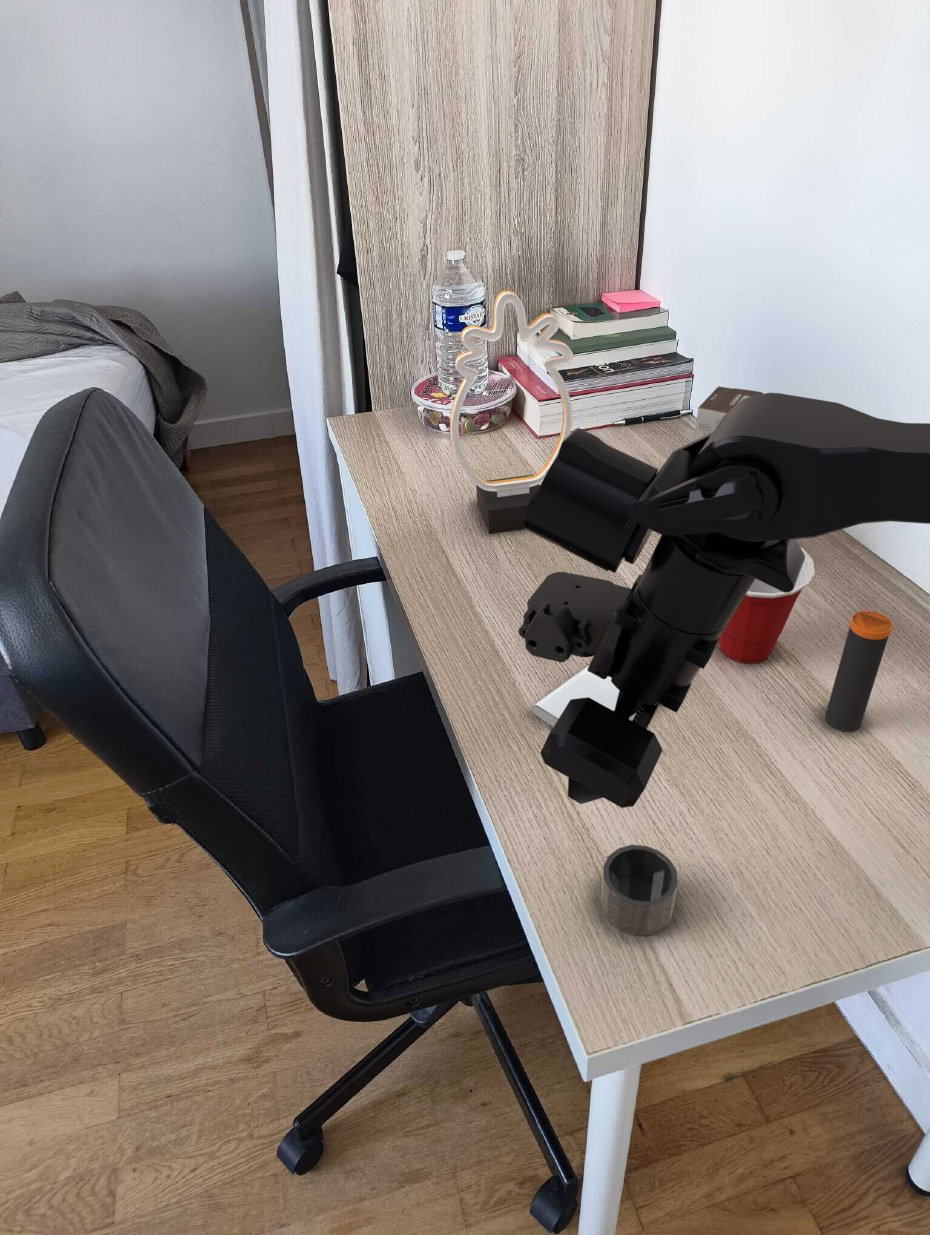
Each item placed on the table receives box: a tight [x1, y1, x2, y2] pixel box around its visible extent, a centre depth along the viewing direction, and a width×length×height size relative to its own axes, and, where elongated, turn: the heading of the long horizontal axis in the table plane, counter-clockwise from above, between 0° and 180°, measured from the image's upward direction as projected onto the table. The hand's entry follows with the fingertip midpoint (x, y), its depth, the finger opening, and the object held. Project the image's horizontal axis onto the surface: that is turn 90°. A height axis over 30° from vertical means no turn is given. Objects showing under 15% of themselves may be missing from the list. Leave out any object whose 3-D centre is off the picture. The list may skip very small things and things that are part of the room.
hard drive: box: [533, 665, 636, 728], centre depth 89 cm, size 2×8×12 cm
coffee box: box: [693, 386, 764, 441], centre depth 117 cm, size 9×6×16 cm
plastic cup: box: [717, 547, 816, 664], centre depth 92 cm, size 11×11×12 cm
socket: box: [600, 844, 679, 937], centre depth 68 cm, size 6×6×4 cm
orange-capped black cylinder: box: [824, 610, 893, 733], centre depth 82 cm, size 4×4×12 cm
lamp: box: [449, 290, 574, 534], centre depth 113 cm, size 17×9×32 cm, turn 101°
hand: (599, 754), depth 60 cm, fingers open, 9 cm apart
